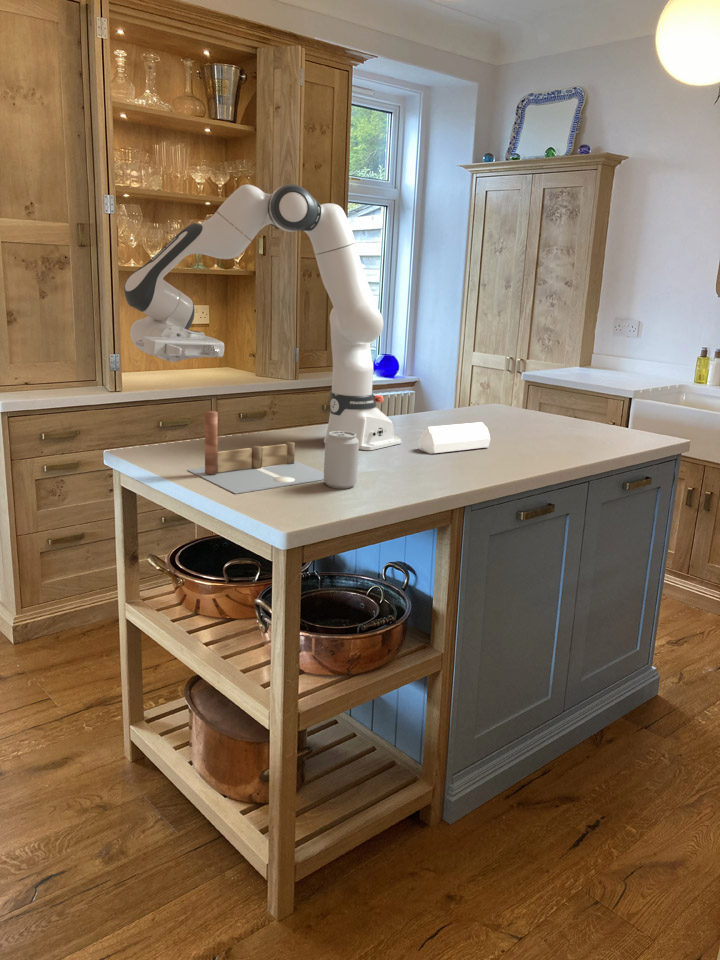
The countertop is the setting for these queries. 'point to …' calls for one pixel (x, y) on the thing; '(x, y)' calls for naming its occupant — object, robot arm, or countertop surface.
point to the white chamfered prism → (454, 438)
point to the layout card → (262, 477)
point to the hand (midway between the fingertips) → (200, 352)
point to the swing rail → (223, 458)
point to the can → (341, 459)
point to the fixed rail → (273, 455)
